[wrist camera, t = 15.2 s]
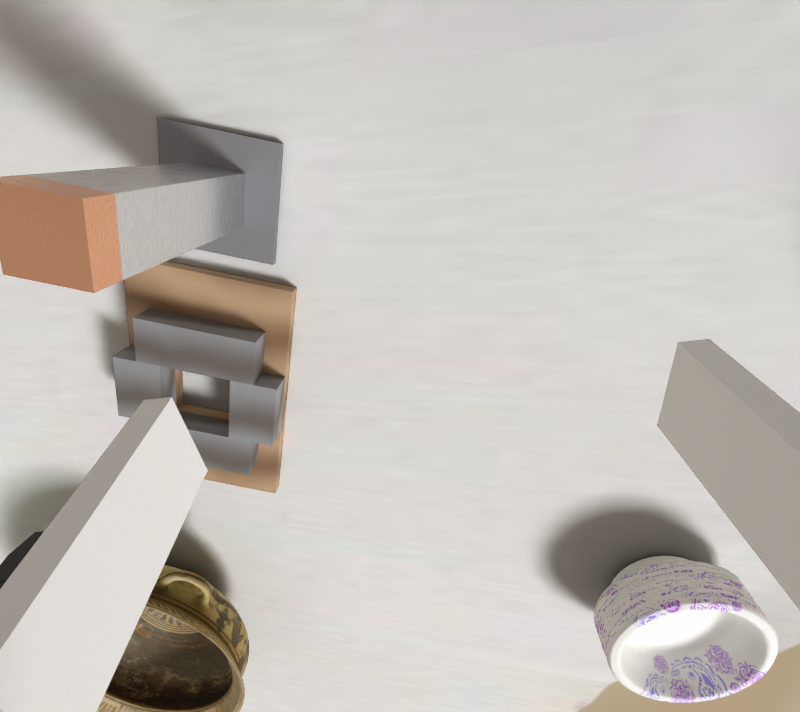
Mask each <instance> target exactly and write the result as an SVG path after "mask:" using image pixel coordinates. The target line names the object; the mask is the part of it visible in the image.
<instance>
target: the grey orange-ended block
mask: <svg viewBox="0 0 800 712" xmlns="http://www.w3.org/2000/svg"><path fill="white" fill-rule="evenodd" d="M245 180H246V173H243V172H238V171H234V170H229V169H224V168H219V167H214V166H210V165H205V164H200V163H195V162H185V163H172V164H159V165H146V166H133V167H120V168H107V169H94V170H82V171H69V172H56V173H43V174H30V175H17V176H4V177H0V261H1V266H2V270H3V274H4V275H9V276H14V277H19V278H23V279H28V280H33V281H38V282H43V283H48V284H53V285H58V286H63V287H68V288H72V289H77V290H82V291H87V292H92V293H95V292H97V291H99V290H102V289H104V288H106V287H108V286H111V285H113V284H115V283H118V282H120V281H122V280H124V279H127V278H129V277H131V276H134V275H136V274H138V273H140V272H143V271H145V270H147V269H150V268H152V267H154V266H156V265H159V264H161V263H163V262H166V261H168V260H170V259H172V258H175V257H177V256H179V255H181V254H184V253H186V252H188V251H191V250H193V249H195V248H197V247H200V246H202V245H204V244H207V243H209V242H211V241H213V240H216V239H218V238H220V237H223V236H225V235H227V234H229V233H232V232H234V231H236V230H239V229H241V228H243V227H244V209H245Z"/></svg>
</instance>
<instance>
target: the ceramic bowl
mask: <svg viewBox="0 0 800 712" xmlns="http://www.w3.org/2000/svg"><path fill="white" fill-rule="evenodd" d="M248 655H249V640H248V636H247V632H246V629H245V626H244V623H243V621H242V619H241V618H240V616H239V614H238V612H237V610H236V609H235V608H234V606H233V605H232V604H231V603H230V601H229V600H228V599H227V598H226V597H225V596H224V595H223V594H222V593H221V592H219V591H218V590H217V589H216V588H214V587H213V586H212V585H210V584H209V582H208V581H207V580H206V579H204V578H203V577H201V576H200V575H198V574H196V573H193V572H190V571H187V570H184V569H180V568H174V567H171V566H167V565H164V566H163V569H162V571H161V573H160V575H159V577H158V579H157V582H156V584H155V586H154V588H153V590H152V592H151V595H150V597H149V599H148V601H147V603H146V605H145V608H144V610H143V612H142V614H141V616H140V618H139V621H138V623H137V625H136V627H135V629H134V632H133V634H132V636H131V638H130V640H129V642H128V645H127V647H126V649H125V651H124V653H123V655H122V658H121V660H120V662H119V664H118V666H117V668H116V671H115V673H114V675H113V677H112V679H111V681H110V684H109V686H108V688H107V690H106V692H105V694H104V697H103V699H102V701H101V703H100V705H99V707H98V710H97V712H239V711H240V709H241V707H242V705H243V701H244V696H245V694H244V684H243V680H242V675H243V673H244V671H245V668H246V665H247V661H248Z"/></svg>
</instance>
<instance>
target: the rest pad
mask: <svg viewBox="0 0 800 712" xmlns="http://www.w3.org/2000/svg"><path fill="white" fill-rule="evenodd" d="M157 122H158V144H159V164H172V163H185V162H195V163H200V164H205V165H210V166H214V167H219V168H224V169H229V170H234V171H238V172H243V173H246V180H245V209H244V227H243V228H241V229H239V230H236V231H234V232H232V233H229V234H227V235H225V236H223V237H220V238H218V239H216V240H213V241H211V242H209V243H207V244H204V245H202V246H200V247H197V248H195V249H199V250H204V251H209V252H214V253H219V254H223V255H228V256H233V257H238V258H243V259H248V260H253V261H257V262H262V263H267V264H272V265H273V264H275V260H276V245H277V231H278V216H279V201H280V186H281V171H282V156H283V143H278V142H273V141H268V140H264V139H259V138H254V137H250V136H245V135H240V134H235V133H231V132H226V131H221V130H216V129H212V128H207V127H202V126H198V125H193V124H188V123H183V122H179V121H174V120H169V119H164V118H157Z"/></svg>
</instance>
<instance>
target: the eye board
mask: <svg viewBox="0 0 800 712" xmlns="http://www.w3.org/2000/svg"><path fill="white" fill-rule="evenodd" d="M124 281H125V292H126V304H127V315H128V327H129V338H130V345H129V346H128V347H126V348H125V349H123V350H122V351H120V352H119V353H117V354H116V355H114V356H113V357H112V358H113V367H114V376H115V385H116V395H117V404H118V413H119V416H124V417H129V418H131V416H132V415H133V414H134V412H135V411H136V410H137V408H138V407H139V406H140V404H141V403H142V402H143V400H149V399H158V398H168V397H172V398H173V400H174V402H175V405H176V407H177V409H178V411H179V413H180V415H181V417H182V419H183V421H184V423H185V425H186V427H187V429H188V431H189V433H190V435H191V437H192V439H193V441H194V443H195V446H196V448H197V450H198V452H199V454H200V456H201V458H202V460H203V462H204V464H205V466H206V468H207V470H208V471H207V473H206V475H205V477H204V479H205V480H210V481H216V482H221V483H226V484H231V485H236V486H241V487H246V488H251V489H256V490H261V491H266V492H271V493H275V492H276V490H277V488H278V486H279V477H280V466H281V455H282V444H283V433H284V422H285V411H286V400H287V389H288V378H289V367H290V356H291V345H292V334H293V323H294V312H295V301H296V291H297V288H296V287H291V286H286V285H281V284H276V283H272V282H267V281H262V280H257V279H252V278H247V277H242V276H238V275H233V274H228V273H223V272H218V271H213V270H209V269H204V268H199V267H194V266H189V265H184V264H179V263H175V262H170V261H166V262H163V263H161V264H159V265H156V266H154V267H152V268H150V269H147V270H145V271H143V272H140V273H138V274H136V275H134V276H131V277H129V278H127V279H124ZM182 371H186V372H191V373H196V374H201V375H206V376H210V377H215V378H220V379H225V380H230V398H229V412H225V411H220V410H215V409H210V408H205V407H200V406H195V405H190V404H185V403H183V380H182Z"/></svg>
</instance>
